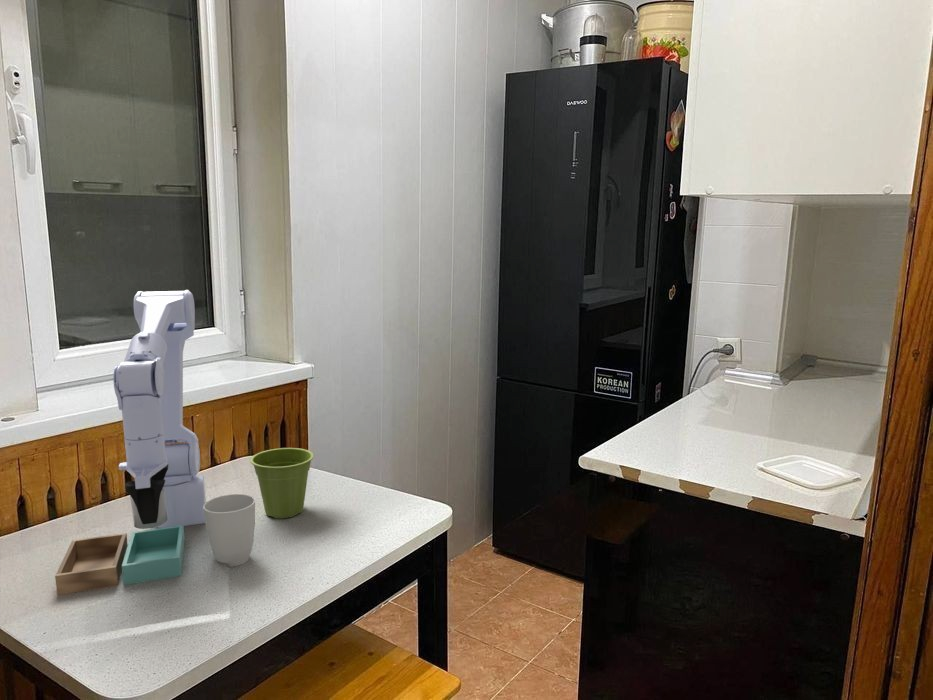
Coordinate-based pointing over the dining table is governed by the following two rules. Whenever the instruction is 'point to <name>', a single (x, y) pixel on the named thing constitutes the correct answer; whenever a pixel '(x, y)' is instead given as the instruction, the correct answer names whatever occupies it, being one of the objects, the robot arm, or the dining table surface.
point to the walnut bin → (92, 564)
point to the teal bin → (154, 555)
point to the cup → (231, 527)
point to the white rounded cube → (161, 514)
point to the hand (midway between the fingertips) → (151, 516)
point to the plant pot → (282, 479)
